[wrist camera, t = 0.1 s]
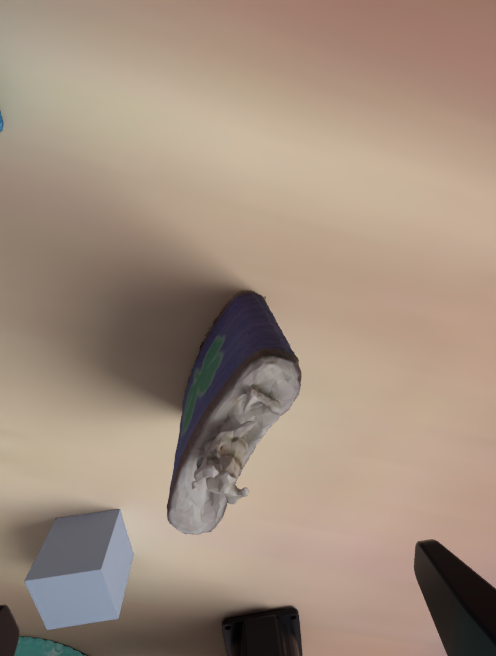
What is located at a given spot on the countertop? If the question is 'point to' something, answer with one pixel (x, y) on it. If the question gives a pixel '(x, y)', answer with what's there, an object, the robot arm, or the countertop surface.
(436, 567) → the robot arm
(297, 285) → the countertop surface
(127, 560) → the cube
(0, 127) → the soda box
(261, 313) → the flask
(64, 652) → the basket
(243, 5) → the countertop surface
